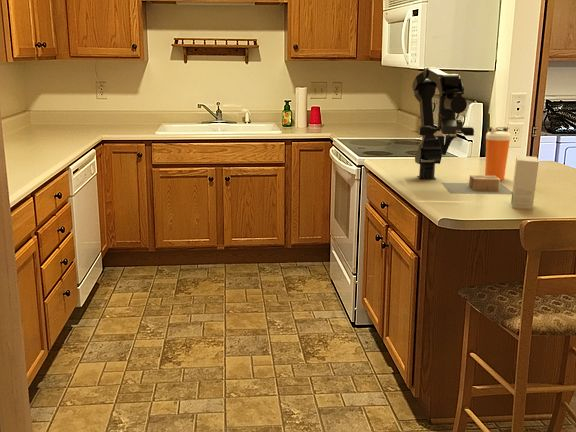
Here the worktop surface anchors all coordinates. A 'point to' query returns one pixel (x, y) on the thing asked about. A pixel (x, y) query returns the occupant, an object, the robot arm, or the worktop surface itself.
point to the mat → (465, 189)
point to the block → (484, 183)
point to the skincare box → (524, 182)
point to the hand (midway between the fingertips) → (443, 154)
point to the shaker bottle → (496, 151)
